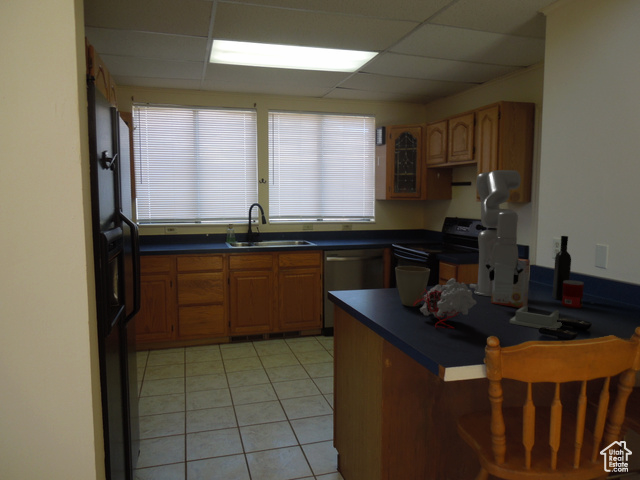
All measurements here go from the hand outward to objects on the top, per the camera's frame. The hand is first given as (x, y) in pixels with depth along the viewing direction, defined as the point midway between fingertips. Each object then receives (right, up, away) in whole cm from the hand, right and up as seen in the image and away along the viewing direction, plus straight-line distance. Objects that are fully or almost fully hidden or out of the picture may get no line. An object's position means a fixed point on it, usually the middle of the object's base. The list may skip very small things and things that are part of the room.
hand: (503, 281), depth 193 cm
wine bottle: (+37, -11, +25) cm, 46 cm away
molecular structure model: (-31, -14, -23) cm, 41 cm away
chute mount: (+5, -14, -18) cm, 24 cm away
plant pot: (-37, -11, +8) cm, 39 cm away
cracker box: (+7, -11, +11) cm, 17 cm away
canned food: (+35, -12, +11) cm, 38 cm away
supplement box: (0, -5, +1) cm, 4 cm away
